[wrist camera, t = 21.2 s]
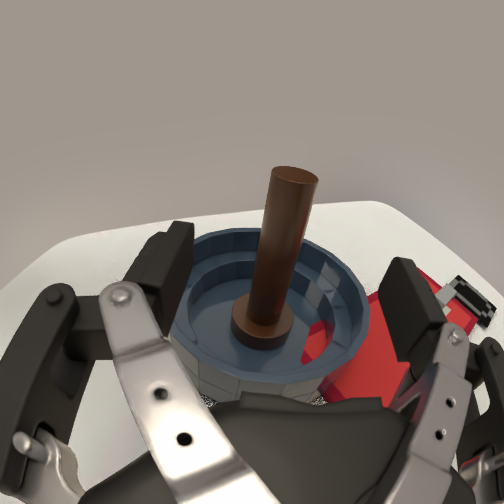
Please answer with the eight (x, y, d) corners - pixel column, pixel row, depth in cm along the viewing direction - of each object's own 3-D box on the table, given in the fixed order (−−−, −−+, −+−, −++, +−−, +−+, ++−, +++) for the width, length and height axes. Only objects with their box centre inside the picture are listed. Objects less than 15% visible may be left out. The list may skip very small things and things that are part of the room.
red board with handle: (501, 320, 26) (433, 262, 36) (511, 305, 24) (441, 247, 34) (392, 484, 12) (278, 348, 22) (414, 475, 10) (285, 327, 20)
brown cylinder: (226, 345, 20) (247, 182, 13) (234, 300, 24) (254, 155, 17) (289, 354, 20) (346, 200, 13) (288, 308, 24) (329, 169, 17)
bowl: (139, 392, 16) (123, 354, 13) (189, 259, 28) (190, 217, 26) (355, 418, 16) (390, 386, 13) (333, 281, 29) (348, 242, 26)
